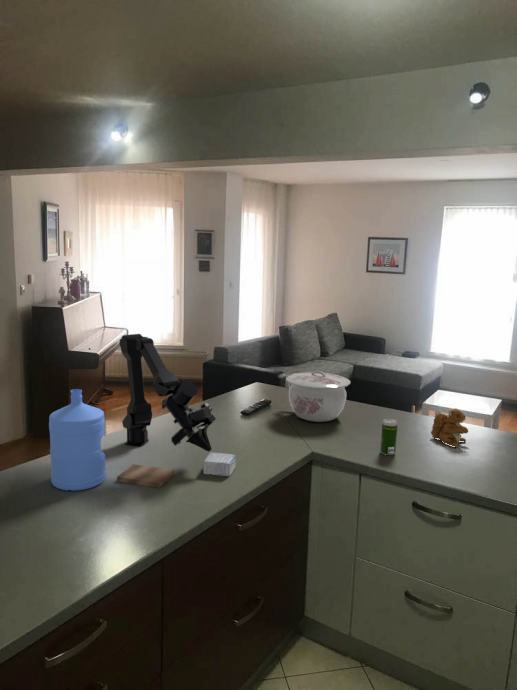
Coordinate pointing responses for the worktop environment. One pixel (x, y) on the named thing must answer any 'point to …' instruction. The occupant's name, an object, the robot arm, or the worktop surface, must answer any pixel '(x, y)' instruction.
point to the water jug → (77, 445)
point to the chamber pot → (317, 395)
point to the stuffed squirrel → (449, 427)
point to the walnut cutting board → (145, 475)
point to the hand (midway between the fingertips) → (210, 450)
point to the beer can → (388, 437)
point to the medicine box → (219, 464)
